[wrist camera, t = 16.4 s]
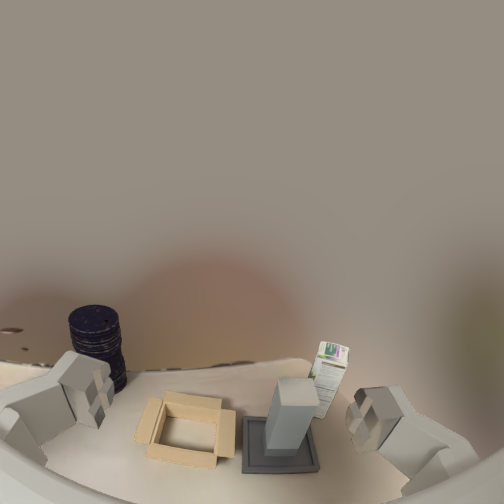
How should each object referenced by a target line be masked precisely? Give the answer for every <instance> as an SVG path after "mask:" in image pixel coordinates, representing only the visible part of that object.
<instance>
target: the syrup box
mask: <svg viewBox="0 0 504 504" xmlns="http://www.w3.org/2000/svg"><path fill="white" fill-rule="evenodd" d="M348 360H349V348H347V347H345V346H342V345H338V344H334V343H329V342H323V341H321V342H320V345H319V348H318V351H317V354H316V357H315V360H314V363H313V365H312V368H311V371H310V373H309V376H308V378H312V379H313V381H314V385H315V388H316V391H317V395H318V398H319V401H320V404H319V406H318V407H317V409H316V412H315V414H314V416H313V417H317V418H321V419H324V417H325V415H326V413H327V411H328V409H329V407H330V405H331V403H332V401H333V398H334V396H335V394H336V392H337V390H338V387H339V385H340V383H341V380H342V378H343V376H344V373H345V371H346V368H347V366H348Z"/></svg>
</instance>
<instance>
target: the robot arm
mask: <svg viewBox="0 0 504 504" xmlns="http://www.w3.org/2000/svg"><path fill="white" fill-rule="evenodd" d="M110 373H111V370H110V366H109V364H108V363H107V362H104V361H101V360H98V359H95V358H92V357H89V356H86V355H83V354H79V353H76V352H73V351H71V350H70V351H67V352H66V353H65V354H64V355H63V356H62V357H61V359H60V360H59V361H58V362H57V363H56V364H55V366H54V367H53V368H52V369H51V370H50V371H49V373H48V374H47V375H46V376H45V377H43V376H39V377H37V378H34V379H31V380H28V381H25V382H22V383H19V384H16V385H13V386H10V387H7V388H4V389H1V390H0V504H136V503H132V502H129V501H125V500H122V499H119V498H116V497H113V496H110V495H107V494H105V493H102V492H99V491H97V490H94V489H91V488H89V487H87V486H84V485H82V484H79V483H77V482H75V481H73V480H70V479H68V478H66V477H64V476H62V475H60V474H58V473H56V472H54V471H52V470H50V469H48V468H46V467H45V464H46V462H47V460H48V459H47V456H46V455H45V454H44V452H43V451H42V449H41V448H40V447H39V446H40V445H42V444H43V443H45V442H47V441H48V440H50V439H52V438H53V437H55V436H57V435H58V434H60V433H62V432H63V431H65V430H67V429H68V428H70V427H71V426H73V425H75V424H76V422H78V423H81V424H84V425H87V426H89V427H92V428H95V429H99V427H100V425H101V423H102V421H103V419H104V417H105V413H104V409H106V408H108V407H110V405H111V403H112V401H113V397H114V384H113V381H112V380H111V379H110V377H109V374H110ZM354 398H355V400H356V401H355V402H353V403H352V404H351V405H350V406H349V408H348V410H347V412H346V426H347V429H348V430H349V431H350V432H351V433H353V434H354V435H353V437H352V439H351V440H352V443H353V445H354V448H355V451H356V453H363V452H370V451H376V450H378V452H379V453H380V454H381V455H382V456H383V457H384V458H386V459H387V460H388V461H389V462H390V463H391V464H393V465H394V466H395V467H396V468H397V469H398V470H400V471H401V472H402V473H403V474H404V475H406V476H407V477H408V478H409V479H410V481H409V482H408V483H406V484H405V485H404V486H403V487H402V489H401V493H402V496H403V497H402V498H399V499H395V500H392V501H389V502H386V503H382V504H504V448H502V449H501V450H499V451H497V452H496V453H494V454H493V455H491V456H490V457H488V458H486V459H485V460H483V461H480V459H479V457H478V456H477V454H476V453H475V451H474V450H473V448H472V446H471V445H470V444H469V442H468V440H467V439H466V438H464V437H462V436H460V435H458V434H456V433H455V432H453V431H451V430H449V429H447V428H445V427H443V426H442V425H440V424H438V423H436V422H435V421H433V420H431V419H429V418H427V417H426V416H424V415H422V414H417V413H416V412H415V410H414V408H413V407H412V405H411V404H410V402H409V400H408V399H407V397H406V396H405V394H404V393H403V391H402V390H401V388H400V387H399V386H398V385H391V386H384V387H373V388H360V389H359V390H357V392H356V394H355V395H354Z"/></svg>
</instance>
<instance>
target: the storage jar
mask: <svg viewBox="0 0 504 504" xmlns="http://www.w3.org/2000/svg"><path fill="white" fill-rule="evenodd" d="M68 322H69V326H70V335H71V339H72V344H73V346H74V349H75V350H76V353H79V354H83V355H86V356H89V357H92V358H95V359H98V360H101V361H104V362H107V363H108V364H109V366H110V370H111V373H110V374H109V377H110V379H111V380H112V381H113V384H114V394H117V393H119V392H120V391H122V390H123V389H124V387H125V386H126V383H127V377H126V367H125V361H124V358H123V355H122V353H121V342H122V338H121V330H120V326H119V316H118V313H117V312H116V311H115V310H114V309H111V308H110V307H107V306H103V305H87V306H83V307H80V308H77V309H75V310H74V311H72V312H71V314H70V315H69V317H68Z"/></svg>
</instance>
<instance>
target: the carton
mask: <svg viewBox="0 0 504 504" xmlns="http://www.w3.org/2000/svg"><path fill="white" fill-rule="evenodd" d="M221 403H222V399H217V398H209V397H202V396H195V395H189V394H183V393H177V392H171V391H166V392H165V395H164V398H163V400H161V399H156V398H151V397H149V398H148V401H147V403H146V406H145V409H144V411H143V414H142V417H141V420H140V422H139V425H138V428H137V430H136V433H135V436H134V439H133V440H134V441H137V442H141V443H145V444H149V446H148V449H147V452H146V457H148V458H152V459H156V460H161V461H166V462H171V463H176V464H181V465H187V466H194V467H201V468H208V469H216V462H217V456H220V457H231V458H234V454H235V420H236V410H226V409H221ZM166 416H171V417H176V418H182V419H187V420H194V421H201V422H208V423H216V434H215V444H214V453H207V452H200V451H193V450H187V449H181V448H175V447H170V446H165V445H160V444H159V440H160V437H161V433H162V429H163V426H164V422H165V419H166Z"/></svg>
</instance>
